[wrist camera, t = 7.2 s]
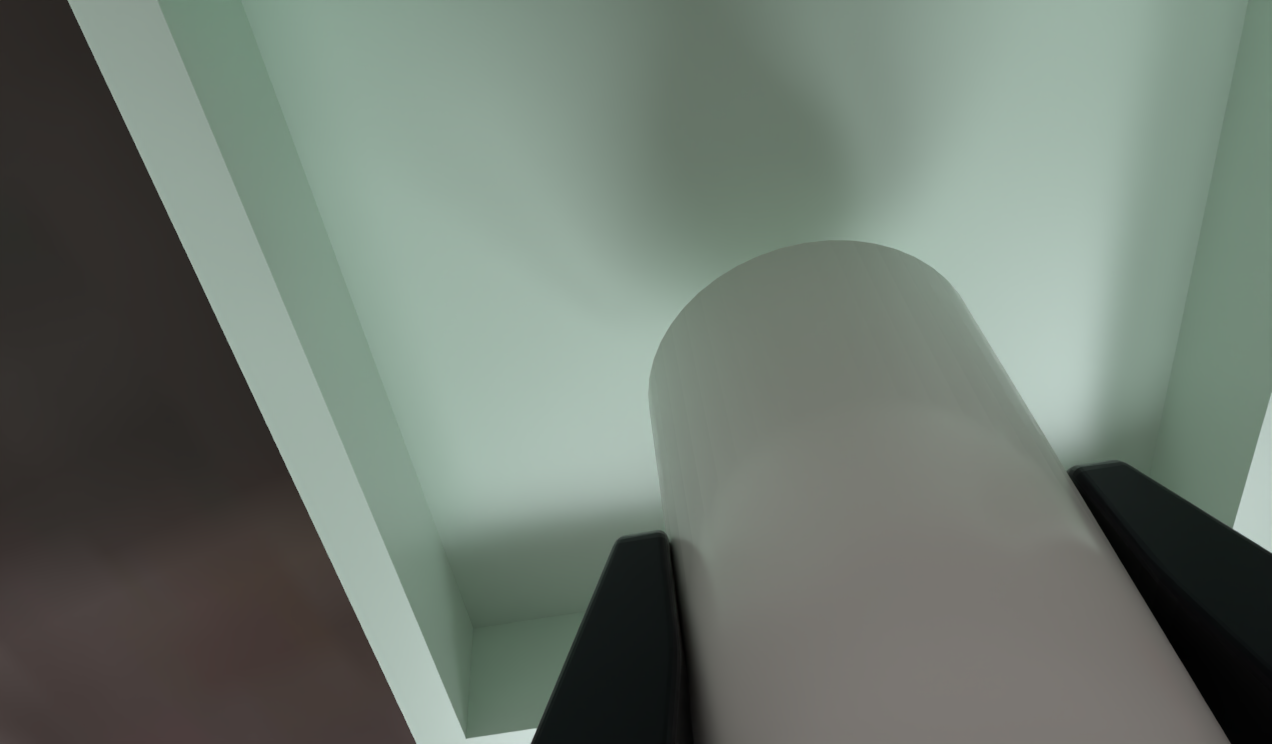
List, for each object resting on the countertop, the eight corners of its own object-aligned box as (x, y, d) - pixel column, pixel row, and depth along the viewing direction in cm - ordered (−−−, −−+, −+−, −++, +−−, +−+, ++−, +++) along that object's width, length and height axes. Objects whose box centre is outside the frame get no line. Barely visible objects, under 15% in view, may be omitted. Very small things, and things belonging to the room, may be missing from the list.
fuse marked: (999, 201, 9) (2043, 1566, 3) (978, 485, 11) (1549, 1643, 5) (611, 264, 9) (764, 1726, 3) (662, 535, 11) (816, 1736, 5)
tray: (1356, -357, 8) (1571, -347, 7) (1159, 524, 15) (1244, 650, 13) (135, -140, 9) (31, -76, 7) (444, 633, 15) (430, 773, 13)
